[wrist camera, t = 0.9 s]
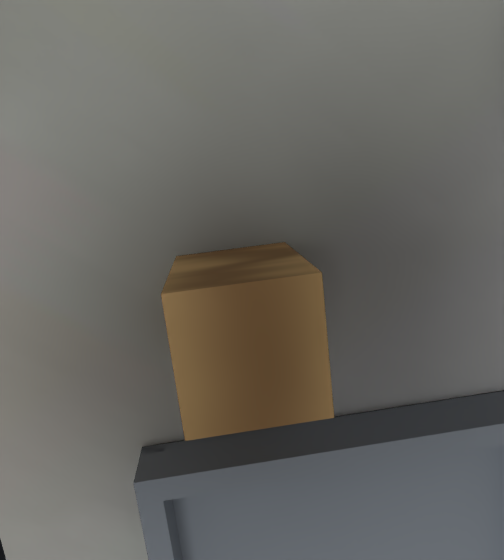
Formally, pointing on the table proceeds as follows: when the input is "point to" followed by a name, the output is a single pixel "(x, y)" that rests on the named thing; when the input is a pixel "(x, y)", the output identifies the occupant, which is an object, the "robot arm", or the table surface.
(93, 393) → the table surface
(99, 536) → the table surface
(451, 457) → the tray
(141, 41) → the table surface
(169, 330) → the block
